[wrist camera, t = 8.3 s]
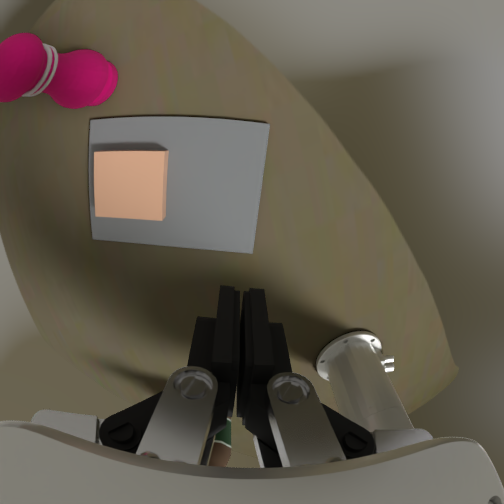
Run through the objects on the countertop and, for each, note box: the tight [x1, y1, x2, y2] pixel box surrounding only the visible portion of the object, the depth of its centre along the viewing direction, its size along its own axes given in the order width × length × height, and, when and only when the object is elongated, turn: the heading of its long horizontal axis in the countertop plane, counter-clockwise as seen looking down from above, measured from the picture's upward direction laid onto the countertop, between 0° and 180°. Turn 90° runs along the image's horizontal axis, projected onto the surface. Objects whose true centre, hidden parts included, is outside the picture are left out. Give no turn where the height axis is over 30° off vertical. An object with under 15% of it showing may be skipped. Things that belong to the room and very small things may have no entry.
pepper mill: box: [0, 33, 118, 109], centre depth 15 cm, size 7×7×20 cm
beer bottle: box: [208, 417, 231, 467], centre depth 38 cm, size 8×8×24 cm
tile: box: [94, 150, 169, 221], centre depth 29 cm, size 2×8×9 cm
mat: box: [89, 117, 270, 254], centre depth 30 cm, size 22×16×1 cm
